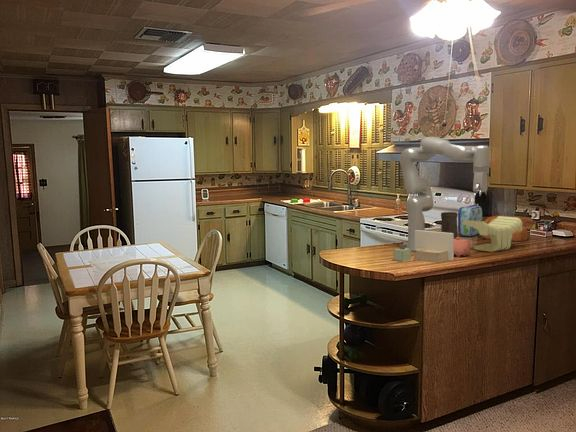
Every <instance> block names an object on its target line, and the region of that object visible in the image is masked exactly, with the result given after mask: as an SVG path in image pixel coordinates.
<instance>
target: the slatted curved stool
mask: <svg viewBox="0 0 576 432" xmlns="http://www.w3.org/2000/svg"><path fill="white" fill-rule="evenodd" d="M497 216H498V217H497V219H495V220H493V221H492V222H490V223H489V224H487V223H484V222H485V221H482V222H480V221H470V220H463V225H467V226H470V227H473V228H475V229H478V231H479V234H478V235H479V236H482V235H484V236H487V235H489V236H490V238H491V239H490V241H491V243H484V244H475V245H474V246H473V250H479V251H484V252H489V253H492V252H500V251H507V250H510V248H511V245H512V241H511V239H512V233H514V232H515V231H522V221H521V220H520V219H519V218H520V217H518V218H516V217H517V216H508V217H504V216H505V215H497Z"/></svg>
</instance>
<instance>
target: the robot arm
mask: <svg viewBox="0 0 576 432" xmlns="http://www.w3.org/2000/svg"><path fill="white" fill-rule="evenodd" d="M419 144H420V145H419V146H420V147H417V146H416V147H414V146H413V147H408V148H405V149H403V151H402V152H401V154H400V157H399V164H400V168H401V171H402V176H403V177H402V178H403V182H404V187H405V192H406V193H408V194H409V195H414V196H411V197H409V198H408V199H407V201H406V203H405V205H406V212H407V235H408V236H407V238H408V239H407V241H403V243H402V244H403V245H405V248H408V249H411V252H414V250H415V230H421V231H426V230H425V229H426V226H425V224H426V223H425V221H426V220H425V219H426V218H425V215H424V213H423V212H429V211H430V210H431V211H432V209H433V207H434V198H433V191H432V188H431V187H432V186H431V184H430V181H429V180H428V179H427V178H425V177H420V176H419V173H418V169H417V166H416V165H415V164H414V163H422V162H423V163H424V162H426V161H429V160H430V159H431V158H433V157H434V156H436V155H440V156H443V157H445V158H447V159H450V160H451V159H452V160H454V161H468V162H469V161H473V171H472V172H473V184H472V185H473V186H472V191H473V193H474V205H481V204H482V203H487V201H488V193H487V192H488V182H489V181H488V173H490V146H489V145H457V144H453V143H451V141H450V140H448V139H447V140H446V139H443V138H441V137H439V136H425V137H424V138H422V139H421V140H420V143H419ZM415 195H416V196H415Z"/></svg>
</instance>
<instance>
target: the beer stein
mask: <svg viewBox="0 0 576 432" xmlns="http://www.w3.org/2000/svg"><path fill="white" fill-rule="evenodd" d="M440 213H441V214H440V216H441V217H440V218H441V224H440V225H441V226H440V228H441V229H440V230H441V231H440V232H445V233H454V239H456V237H458V212H454V211H445V212H443V211H442V212H440Z"/></svg>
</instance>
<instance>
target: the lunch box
mask: <svg viewBox="0 0 576 432" xmlns="http://www.w3.org/2000/svg"><path fill="white" fill-rule="evenodd" d="M457 215H458V216H457V233H458V234H459V236H460V237H461V236H462V237H463V236H464V237H475V236H478V235H480V234H479V231H478V229H475V228H473V227H470V226H467V225H463V220H470V221H480V222H483V208H482V207H481V206H480V205H477V204H471V205H468V206H462V207H461V206H460V207H459V208H458V212H457Z"/></svg>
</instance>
